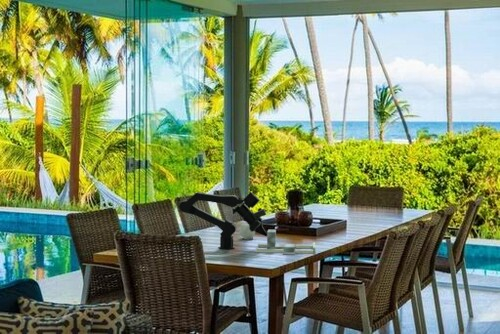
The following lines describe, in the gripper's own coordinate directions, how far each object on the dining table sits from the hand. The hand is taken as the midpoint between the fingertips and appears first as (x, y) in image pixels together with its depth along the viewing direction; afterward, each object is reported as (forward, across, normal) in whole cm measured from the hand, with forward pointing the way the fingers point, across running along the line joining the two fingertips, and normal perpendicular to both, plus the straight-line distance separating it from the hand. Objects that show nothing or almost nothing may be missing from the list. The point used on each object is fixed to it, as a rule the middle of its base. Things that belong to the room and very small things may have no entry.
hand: (267, 235), depth 454 cm
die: (-4, +38, +15) cm, 41 cm away
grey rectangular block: (+10, 0, 0) cm, 10 cm away
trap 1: (+14, -12, -3) cm, 19 cm away
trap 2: (+14, +12, -3) cm, 19 cm away
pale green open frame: (+12, 0, -2) cm, 12 cm away
